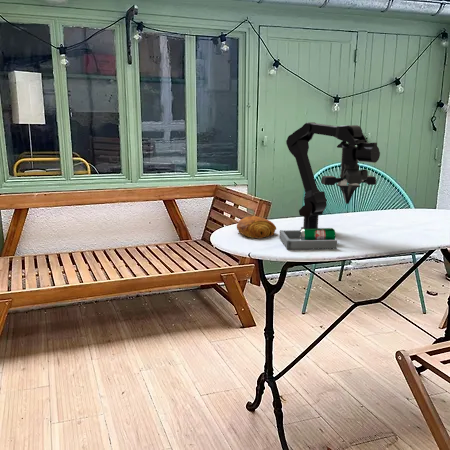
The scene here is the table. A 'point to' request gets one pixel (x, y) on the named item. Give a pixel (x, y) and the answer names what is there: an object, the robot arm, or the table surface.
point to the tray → (304, 242)
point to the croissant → (256, 227)
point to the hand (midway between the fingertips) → (347, 203)
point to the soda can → (317, 234)
